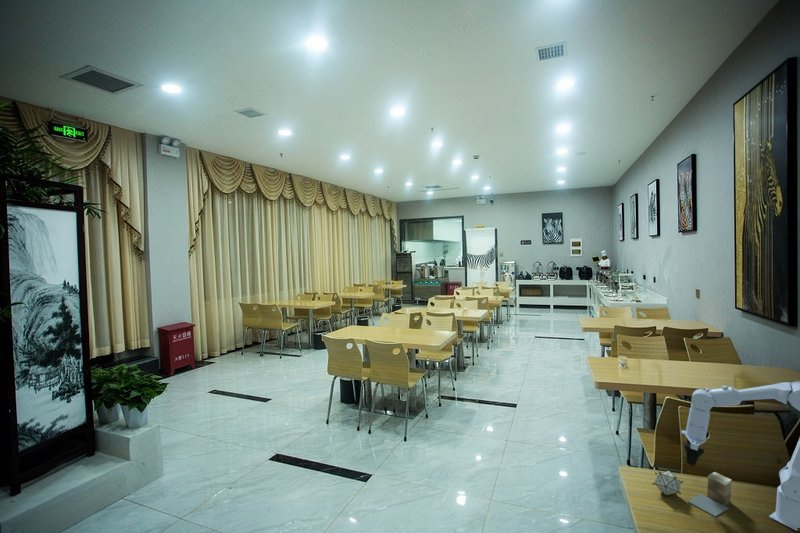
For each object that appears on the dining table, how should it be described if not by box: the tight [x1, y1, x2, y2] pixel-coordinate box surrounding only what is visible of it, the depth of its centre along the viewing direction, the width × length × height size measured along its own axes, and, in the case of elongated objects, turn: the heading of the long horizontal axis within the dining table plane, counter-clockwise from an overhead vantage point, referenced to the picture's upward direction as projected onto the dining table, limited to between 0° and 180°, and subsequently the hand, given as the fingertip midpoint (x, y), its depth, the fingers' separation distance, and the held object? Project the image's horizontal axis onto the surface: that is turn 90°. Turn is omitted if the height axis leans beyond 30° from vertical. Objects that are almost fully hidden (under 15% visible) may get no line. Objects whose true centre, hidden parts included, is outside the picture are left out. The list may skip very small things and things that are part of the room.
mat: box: [688, 493, 729, 518], centre depth 134 cm, size 8×8×1 cm
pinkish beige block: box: [706, 471, 732, 506], centre depth 137 cm, size 5×4×8 cm
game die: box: [651, 467, 684, 499], centre depth 140 cm, size 9×8×10 cm
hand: (690, 459), depth 142 cm, fingers open, 7 cm apart
